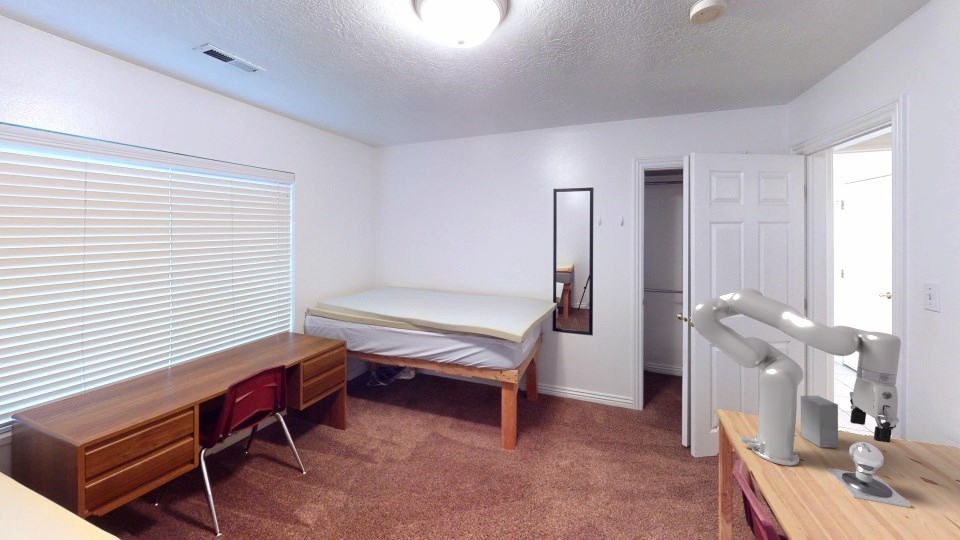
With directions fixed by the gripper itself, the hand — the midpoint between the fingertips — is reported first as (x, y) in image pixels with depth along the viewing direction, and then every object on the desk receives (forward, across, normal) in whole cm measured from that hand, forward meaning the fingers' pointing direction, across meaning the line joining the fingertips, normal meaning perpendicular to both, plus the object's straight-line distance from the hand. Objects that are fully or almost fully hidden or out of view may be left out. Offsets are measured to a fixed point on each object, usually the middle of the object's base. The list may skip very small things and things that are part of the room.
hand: (869, 432), depth 102 cm
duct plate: (+17, 0, -1) cm, 17 cm away
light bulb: (+16, 0, 0) cm, 16 cm away
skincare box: (+18, +25, -1) cm, 31 cm away
